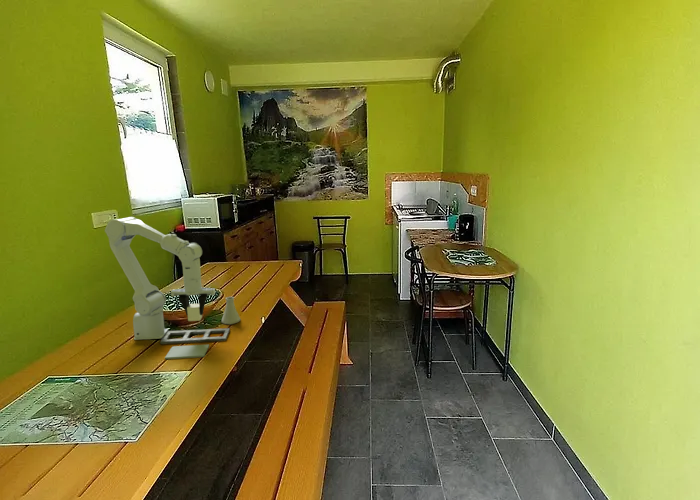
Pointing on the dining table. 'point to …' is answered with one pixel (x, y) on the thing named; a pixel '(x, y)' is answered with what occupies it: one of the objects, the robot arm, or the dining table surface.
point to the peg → (194, 312)
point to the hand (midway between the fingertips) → (195, 314)
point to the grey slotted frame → (193, 340)
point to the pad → (187, 351)
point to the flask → (230, 312)
